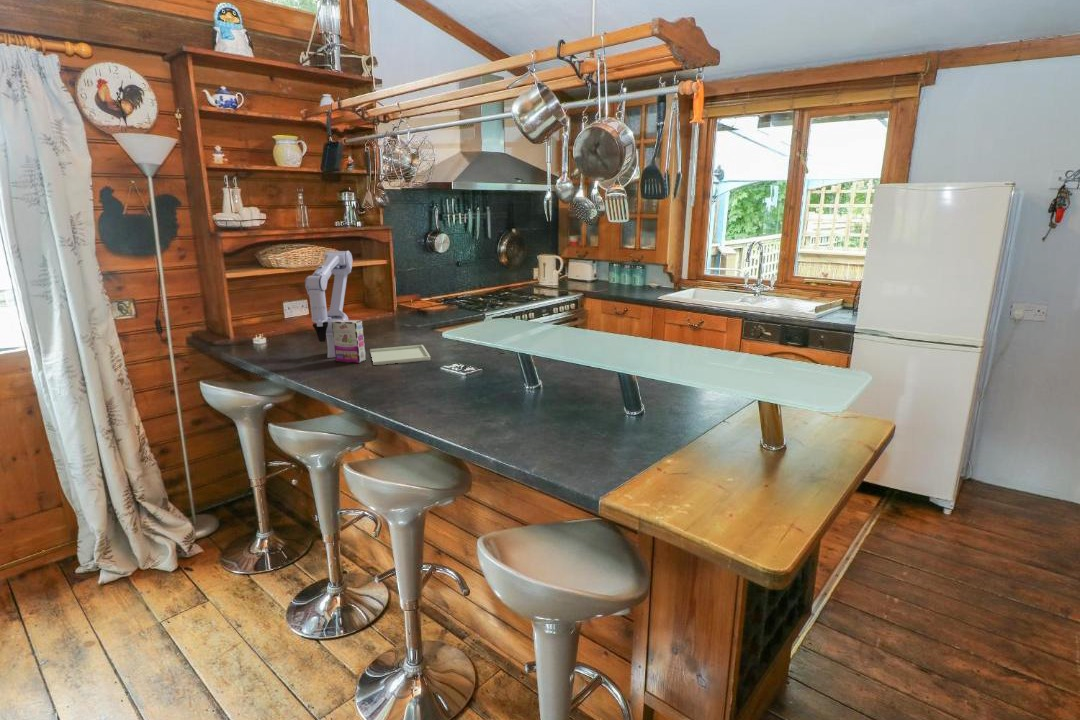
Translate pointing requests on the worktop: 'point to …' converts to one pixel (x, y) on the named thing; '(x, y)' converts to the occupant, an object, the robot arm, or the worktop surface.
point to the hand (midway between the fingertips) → (322, 341)
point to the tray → (399, 355)
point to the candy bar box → (349, 340)
